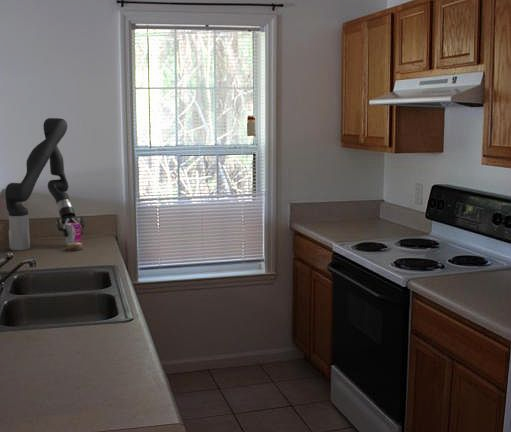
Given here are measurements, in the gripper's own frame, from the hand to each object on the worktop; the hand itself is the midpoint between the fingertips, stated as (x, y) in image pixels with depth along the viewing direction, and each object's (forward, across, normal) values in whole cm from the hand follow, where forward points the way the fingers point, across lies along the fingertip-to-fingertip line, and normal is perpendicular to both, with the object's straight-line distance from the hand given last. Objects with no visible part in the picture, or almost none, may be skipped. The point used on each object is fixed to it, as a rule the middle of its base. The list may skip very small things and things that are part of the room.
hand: (74, 235), depth 347 cm
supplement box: (+3, 0, +5) cm, 6 cm away
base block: (+10, -3, -2) cm, 11 cm away
